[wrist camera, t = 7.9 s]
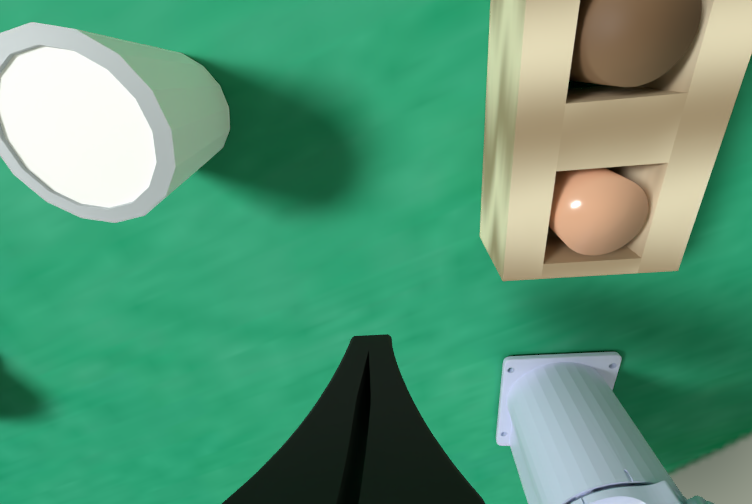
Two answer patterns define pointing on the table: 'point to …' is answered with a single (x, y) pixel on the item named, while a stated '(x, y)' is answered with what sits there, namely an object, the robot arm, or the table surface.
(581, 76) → the walnut peg
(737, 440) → the table surface
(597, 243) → the terracotta peg
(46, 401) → the table surface
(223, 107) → the white cup
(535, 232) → the maple block
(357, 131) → the table surface
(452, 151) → the table surface
